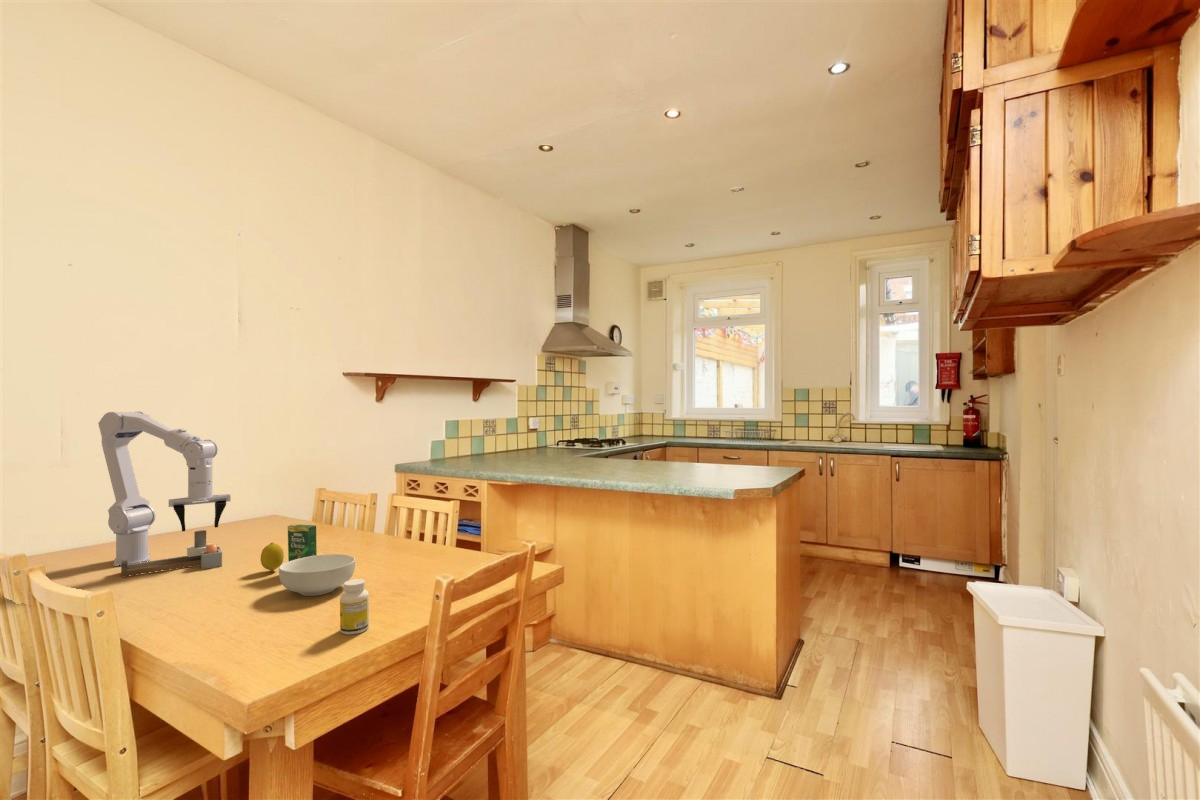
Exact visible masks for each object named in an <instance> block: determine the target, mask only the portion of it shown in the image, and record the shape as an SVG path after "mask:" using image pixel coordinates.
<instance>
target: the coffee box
mask: <svg viewBox="0 0 1200 800" xmlns="http://www.w3.org/2000/svg"><path fill="white" fill-rule="evenodd" d="M287 549H288V550H287V551H288V552H287V553H288V554H287V555H288V562H289V561H292V560H295V559H299V558H304V557H309V556H316V555H317V553H318V550H317V525H315V524H313V525H312V524H300V523H295V524H290V525H288V526H287Z"/></svg>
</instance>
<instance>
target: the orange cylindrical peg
mask: <svg viewBox="0 0 1200 800" xmlns="http://www.w3.org/2000/svg"><path fill="white" fill-rule="evenodd" d="M208 544H209V545H206V554H210V553H217V547H218V544H216V543H212V544H210V543H208Z"/></svg>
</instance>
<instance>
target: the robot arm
mask: <svg viewBox="0 0 1200 800" xmlns="http://www.w3.org/2000/svg"><path fill="white" fill-rule="evenodd" d="M97 424H98V429H99V433H100V436H101V448H102V452H103V455H104V458H105V462H106V468H107V470H108V475H109V479H110V483H111V487H112V490H113V494H114V499H115V501H114V503H113V504H112V505H111V506H110V507H109V509H107V513H108V519H107V524H108V527H109V529H110V530H111V531H112V532H113V534H115V558H114V560H113V561H114V562H113V567H119V565H120V566H121V562H122V560H126V559H128V564H134V563H140V562H147V561H151V554H150V553H149V529H151V525H153V523H154V522H155V521H156V512H155V510H154V509H153V507H152V506H151V504H150V501H149V500H148V499H147V498H145V497H143V496H141V495H140V491H139V486H138V482H137V479H136V476H135V475H136V474H135V472H134V470H135V469H134V467H133V464H132V459H131V455H130V452H129V447H128V445H129V443H130V442H131V441H133V440H134V439H135V438H137V437H138V436H139V435H140V434H142V433H143V432H144V433H146V434H147V435H150V436H154V437H156V438H158V439H161V440H163V443H164V445H165V446H166V447H168V448H170V449H172V450H174V451H176V452H178V453H180V454H182V456H183V458H184V459H185V461H186V466H187V467H188V468H187V475H188V476H187V482H188V483H187V496H185V497H179V498H171V499H170V498H169V499H168V508H172V509H173V510H174V512H175V513H176V516H177V517H178V520H179V522H180V526H181V532H186V523H185V522H186V521H185V519H186V517H185V514H186V509H185V506H189V505H190V506H191V505H202V504H211V503H212V504H213V503H214V521H213V522H214V526H213V527H214V528H218V527H219V523H220V520H221V517H222V515H223V511H224V510H225V508H226V506H227V503H228V502H231V499H232V498H231V493H230V494H229V493H228V494H226V493H225V494H213V459H214V458H215V457H216V456H217V454H218V446H217V444H216V442H214V441H213V440H211V439H204V440H203V439H201V437H200V436H198V435H194V434H191V433H188V432H187V429H185V428H175V429H172V428H170V427H167V426H166V425H164V424H162V423H161V422H159V421H157V420H156V419H153V418H152V417H151V415H150V414H147V413H145V412H143V411H127V412H126V411H125V412H124V411H122V412H119V411H117V412H115V411H108V412H106V413H105V414H103V416H102V417H101V418H100V420H99V421H98V423H97Z"/></svg>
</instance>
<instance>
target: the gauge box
mask: <svg viewBox="0 0 1200 800" xmlns="http://www.w3.org/2000/svg"><path fill="white" fill-rule="evenodd" d="M218 566H221V567H223V551H222V549H221V548H220V549H217V553H210V554H206V551H203V552H201V565H200V568H201V567H202V568H201V570H206V569H205V568H209V569H213V568H212V567H215V568H219V567H218Z"/></svg>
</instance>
